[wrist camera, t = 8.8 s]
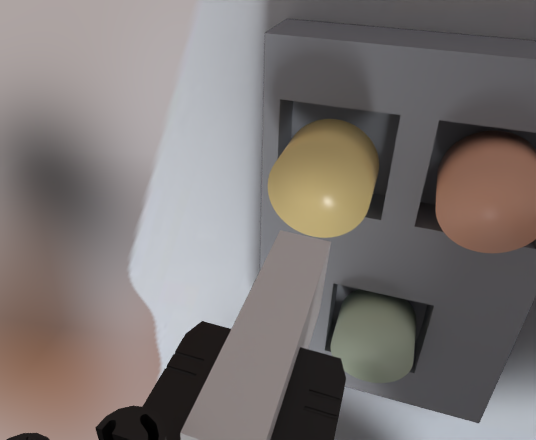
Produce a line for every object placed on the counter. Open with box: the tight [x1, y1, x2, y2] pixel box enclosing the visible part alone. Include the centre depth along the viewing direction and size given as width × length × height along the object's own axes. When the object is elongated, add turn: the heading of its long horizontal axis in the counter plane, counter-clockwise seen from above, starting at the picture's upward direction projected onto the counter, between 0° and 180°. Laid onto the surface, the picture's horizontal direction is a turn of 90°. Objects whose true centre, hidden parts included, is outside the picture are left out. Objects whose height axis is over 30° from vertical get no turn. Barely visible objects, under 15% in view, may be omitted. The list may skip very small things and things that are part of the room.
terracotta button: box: [436, 130, 536, 253], centre depth 20 cm, size 4×4×3 cm
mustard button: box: [268, 119, 379, 238], centre depth 21 cm, size 4×4×3 cm
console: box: [260, 19, 536, 423], centre depth 26 cm, size 14×21×4 cm, turn 0°
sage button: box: [331, 289, 416, 383], centre depth 27 cm, size 4×4×3 cm
